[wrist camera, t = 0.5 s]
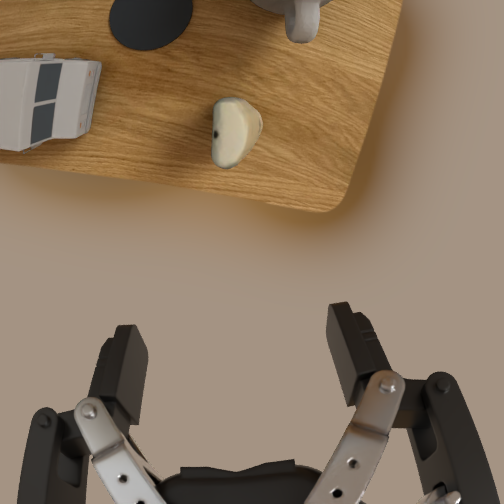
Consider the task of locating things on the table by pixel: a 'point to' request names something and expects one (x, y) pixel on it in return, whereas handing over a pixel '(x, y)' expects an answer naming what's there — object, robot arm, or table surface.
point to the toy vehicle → (45, 99)
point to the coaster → (149, 22)
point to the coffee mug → (296, 16)
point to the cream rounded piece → (233, 131)
